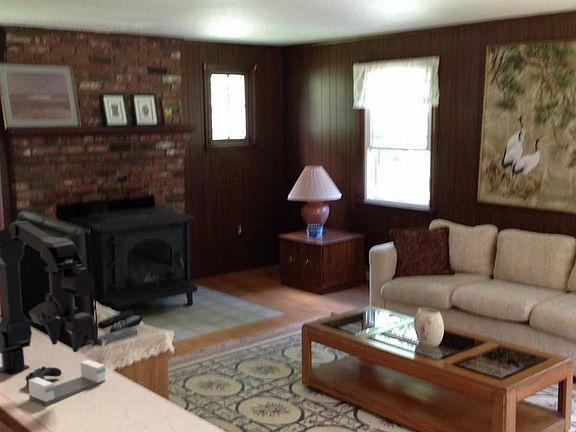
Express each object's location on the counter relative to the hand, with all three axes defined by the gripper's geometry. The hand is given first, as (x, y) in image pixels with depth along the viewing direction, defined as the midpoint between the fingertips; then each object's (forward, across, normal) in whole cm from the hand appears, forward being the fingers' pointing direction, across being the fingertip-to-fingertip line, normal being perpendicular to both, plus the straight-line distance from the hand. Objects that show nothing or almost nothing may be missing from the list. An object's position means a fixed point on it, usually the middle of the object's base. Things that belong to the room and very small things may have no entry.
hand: (64, 348), depth 181 cm
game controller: (+11, -6, -1) cm, 13 cm away
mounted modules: (+11, +2, -1) cm, 11 cm away
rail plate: (+11, +2, -1) cm, 11 cm away
